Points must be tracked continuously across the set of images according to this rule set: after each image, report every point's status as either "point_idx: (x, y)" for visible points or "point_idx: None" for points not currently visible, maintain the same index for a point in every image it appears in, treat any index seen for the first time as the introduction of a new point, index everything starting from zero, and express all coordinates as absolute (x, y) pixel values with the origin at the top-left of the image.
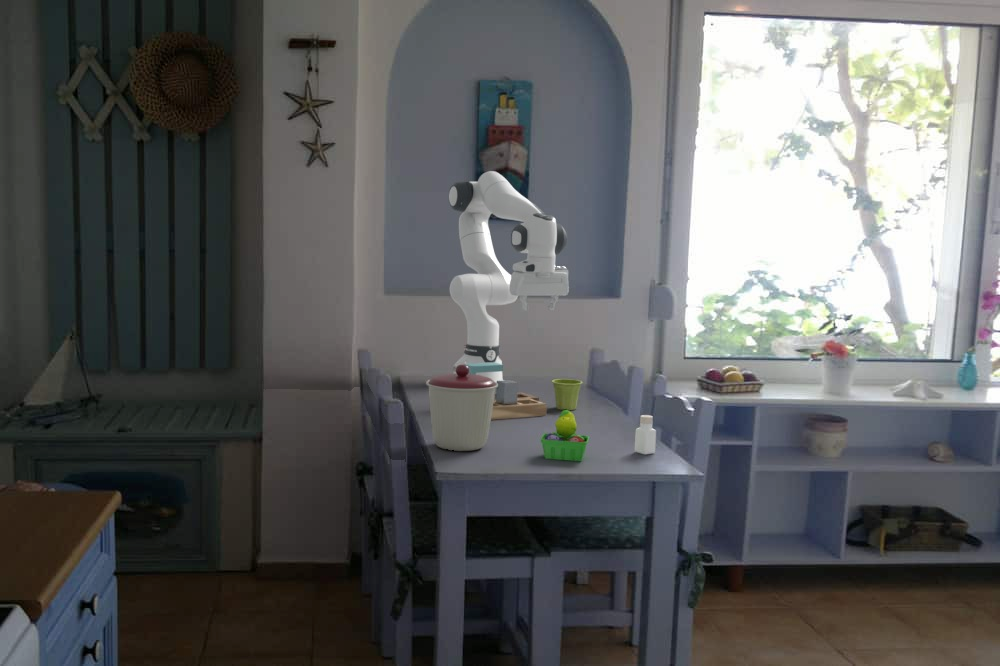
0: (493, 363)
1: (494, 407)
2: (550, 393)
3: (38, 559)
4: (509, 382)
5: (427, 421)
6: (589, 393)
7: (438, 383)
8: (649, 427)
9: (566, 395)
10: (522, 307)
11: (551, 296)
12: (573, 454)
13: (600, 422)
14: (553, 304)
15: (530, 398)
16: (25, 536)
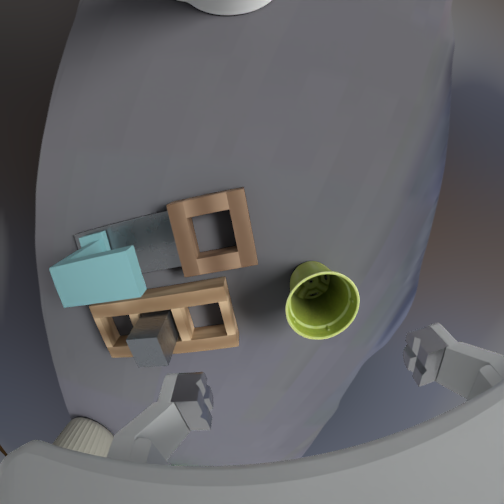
0: (118, 269)
1: (131, 355)
2: (356, 101)
3: (3, 451)
4: (149, 361)
5: (51, 329)
6: (432, 128)
7: None
8: None
9: (303, 316)
10: (164, 383)
11: (485, 384)
12: None
13: (305, 384)
14: (437, 379)
15: (234, 268)
16: None
